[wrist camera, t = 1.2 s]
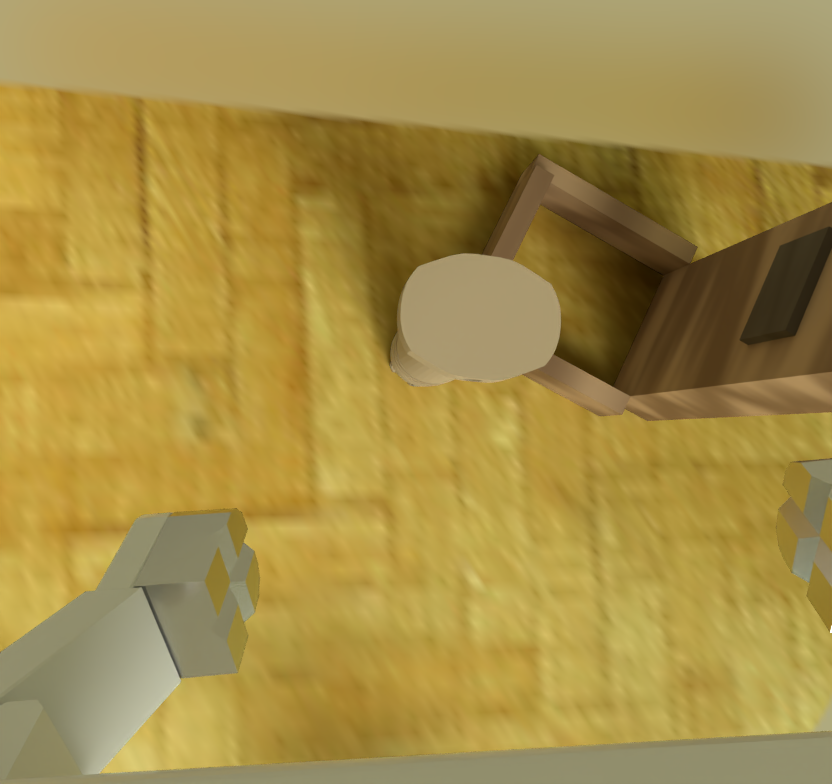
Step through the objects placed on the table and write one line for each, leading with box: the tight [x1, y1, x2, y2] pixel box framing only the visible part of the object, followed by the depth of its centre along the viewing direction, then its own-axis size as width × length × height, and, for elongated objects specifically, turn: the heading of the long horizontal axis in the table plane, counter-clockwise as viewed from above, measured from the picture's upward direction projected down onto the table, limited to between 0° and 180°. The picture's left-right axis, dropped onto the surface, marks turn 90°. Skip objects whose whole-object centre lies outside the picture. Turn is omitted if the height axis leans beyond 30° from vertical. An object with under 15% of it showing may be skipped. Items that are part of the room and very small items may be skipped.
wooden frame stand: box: [482, 154, 832, 421], centre depth 33 cm, size 14×11×22 cm
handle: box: [390, 253, 561, 386], centre depth 34 cm, size 5×6×15 cm
